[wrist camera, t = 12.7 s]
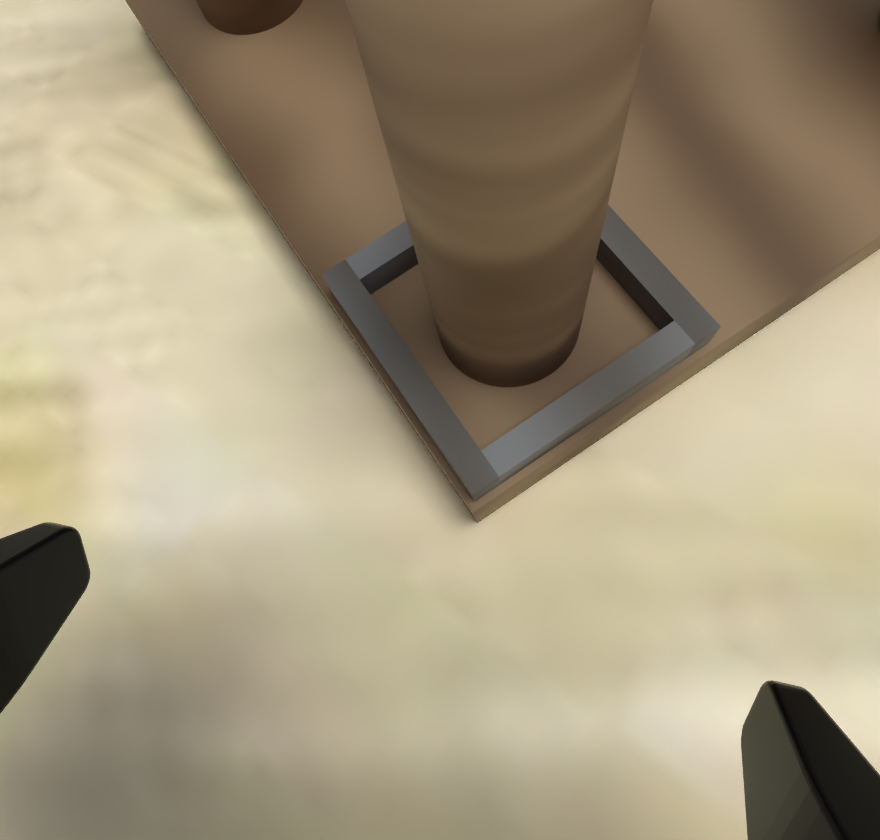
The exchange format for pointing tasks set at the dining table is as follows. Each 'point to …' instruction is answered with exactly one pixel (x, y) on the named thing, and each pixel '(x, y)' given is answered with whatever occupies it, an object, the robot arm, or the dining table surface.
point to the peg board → (626, 221)
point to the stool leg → (503, 160)
